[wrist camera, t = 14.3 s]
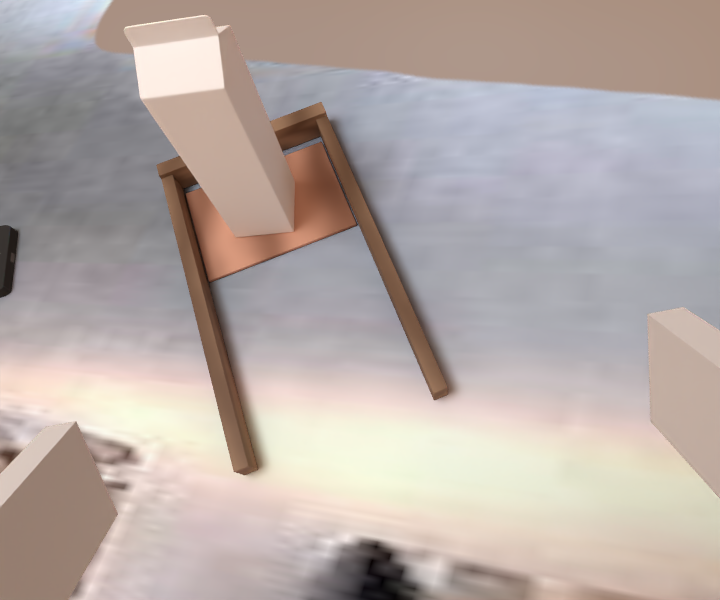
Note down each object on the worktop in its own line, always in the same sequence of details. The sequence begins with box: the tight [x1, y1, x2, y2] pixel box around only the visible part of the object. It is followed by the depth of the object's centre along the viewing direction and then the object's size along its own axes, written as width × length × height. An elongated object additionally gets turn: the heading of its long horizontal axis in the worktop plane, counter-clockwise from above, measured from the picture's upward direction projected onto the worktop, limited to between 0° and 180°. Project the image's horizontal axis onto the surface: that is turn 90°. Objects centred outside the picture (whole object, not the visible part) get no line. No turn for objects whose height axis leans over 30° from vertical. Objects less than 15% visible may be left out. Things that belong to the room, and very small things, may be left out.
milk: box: [124, 15, 295, 237], centre depth 45 cm, size 6×6×22 cm
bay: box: [157, 102, 448, 475], centre depth 50 cm, size 18×32×3 cm, turn 20°
